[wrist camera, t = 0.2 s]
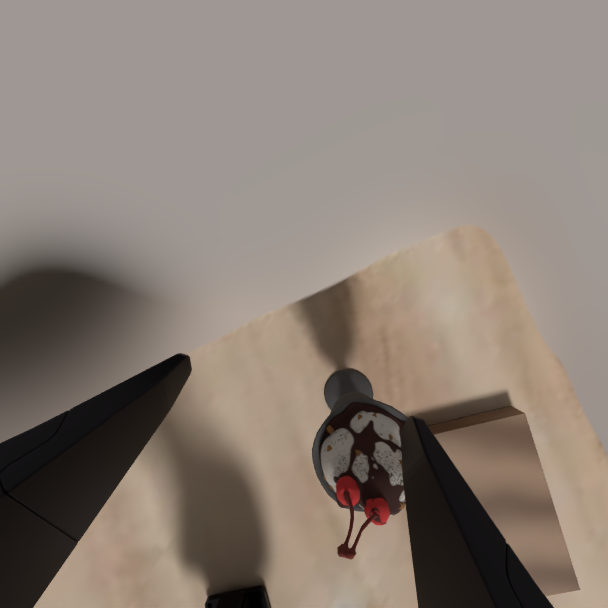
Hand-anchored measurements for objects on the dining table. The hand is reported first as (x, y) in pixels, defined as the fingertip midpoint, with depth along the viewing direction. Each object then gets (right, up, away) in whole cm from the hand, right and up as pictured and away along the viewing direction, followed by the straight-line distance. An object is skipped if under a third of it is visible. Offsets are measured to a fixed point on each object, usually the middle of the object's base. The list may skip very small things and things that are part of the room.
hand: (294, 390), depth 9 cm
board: (+18, -18, +13) cm, 28 cm away
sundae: (+5, -6, +15) cm, 17 cm away
